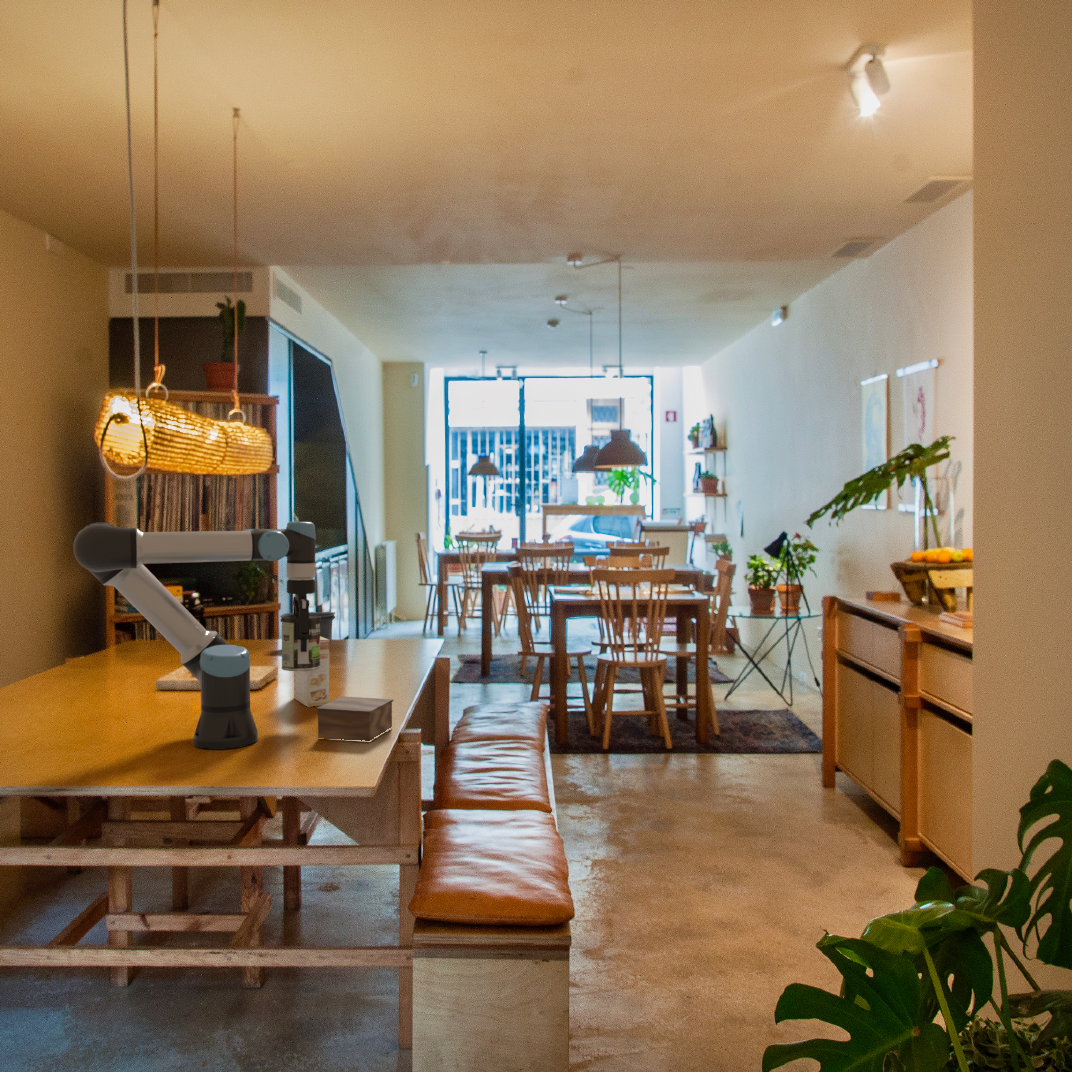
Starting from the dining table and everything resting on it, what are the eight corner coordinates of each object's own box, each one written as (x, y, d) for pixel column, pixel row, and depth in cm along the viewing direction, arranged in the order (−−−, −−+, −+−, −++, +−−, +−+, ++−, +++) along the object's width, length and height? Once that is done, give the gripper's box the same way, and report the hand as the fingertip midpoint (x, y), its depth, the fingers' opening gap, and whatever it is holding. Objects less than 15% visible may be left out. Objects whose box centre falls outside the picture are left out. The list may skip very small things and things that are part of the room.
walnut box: (370, 743, 229) (369, 711, 229) (316, 739, 233) (316, 708, 233) (393, 729, 244) (393, 699, 243) (342, 726, 247) (342, 696, 247)
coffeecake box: (330, 705, 273) (330, 639, 272) (306, 707, 269) (306, 641, 269) (316, 696, 286) (315, 633, 285) (293, 698, 282) (292, 634, 282)
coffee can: (326, 665, 255) (326, 615, 255) (310, 672, 245) (310, 619, 245) (292, 664, 257) (292, 613, 257) (274, 670, 247) (274, 617, 247)
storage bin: (278, 651, 370) (278, 616, 370) (285, 645, 386) (285, 611, 385) (332, 651, 372) (332, 615, 372) (337, 645, 388) (337, 611, 387)
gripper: (320, 581, 241) (320, 666, 242) (310, 575, 262) (309, 653, 263) (291, 582, 239) (291, 668, 239) (282, 575, 260) (282, 654, 260)
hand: (300, 660), depth 251 cm, fingers closed on coffee can, 10 cm apart
